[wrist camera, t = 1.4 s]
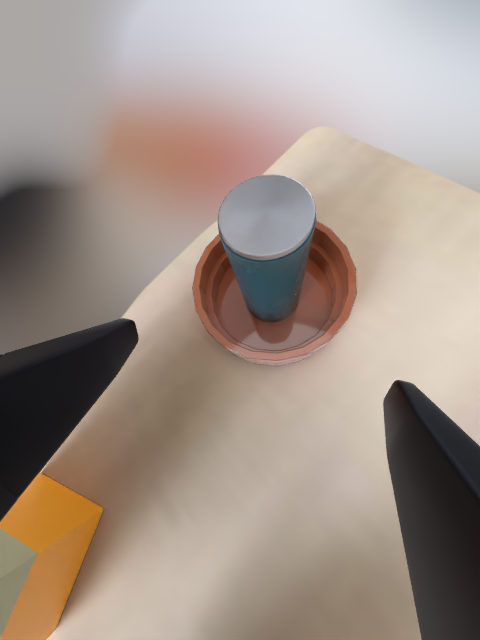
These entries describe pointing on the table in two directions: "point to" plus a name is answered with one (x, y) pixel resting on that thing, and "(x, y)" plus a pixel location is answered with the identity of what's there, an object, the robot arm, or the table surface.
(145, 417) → the table surface
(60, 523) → the orange juice
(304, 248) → the can
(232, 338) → the pot
